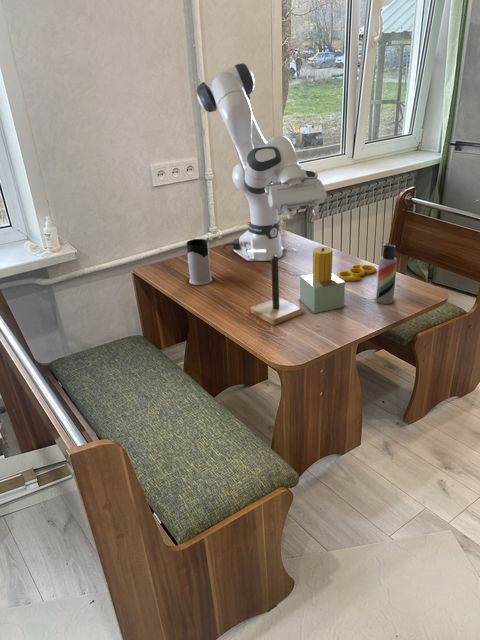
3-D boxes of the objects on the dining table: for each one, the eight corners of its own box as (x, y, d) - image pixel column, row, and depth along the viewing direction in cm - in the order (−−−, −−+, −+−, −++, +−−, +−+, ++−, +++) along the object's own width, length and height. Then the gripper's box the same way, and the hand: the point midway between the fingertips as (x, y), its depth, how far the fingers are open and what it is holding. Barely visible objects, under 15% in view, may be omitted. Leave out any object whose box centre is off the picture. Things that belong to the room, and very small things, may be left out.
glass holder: (185, 283, 199) (180, 245, 192) (201, 269, 211) (198, 232, 203) (206, 286, 196) (202, 247, 189) (221, 271, 208) (218, 234, 200)
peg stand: (250, 312, 176) (247, 255, 166) (278, 302, 183) (276, 246, 172) (273, 325, 168) (271, 265, 158) (301, 313, 174) (301, 255, 164)
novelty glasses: (330, 275, 201) (347, 283, 193) (331, 271, 200) (347, 280, 193) (365, 265, 208) (382, 273, 200) (365, 262, 207) (382, 270, 199)
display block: (300, 300, 183) (300, 276, 178) (328, 294, 186) (329, 270, 182) (314, 313, 174) (314, 288, 170) (343, 306, 178) (345, 282, 173)
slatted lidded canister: (309, 277, 177) (309, 246, 172) (326, 274, 179) (326, 243, 174) (321, 287, 170) (322, 255, 165) (339, 283, 172) (340, 252, 166)
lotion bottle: (372, 299, 182) (377, 243, 171) (386, 295, 183) (391, 240, 173) (382, 305, 177) (387, 248, 167) (396, 302, 179) (402, 245, 169)
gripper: (265, 178, 175) (277, 215, 172) (321, 171, 181) (333, 207, 178) (261, 189, 181) (272, 225, 178) (315, 182, 187) (327, 216, 184)
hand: (303, 216), depth 178 cm, fingers open, 8 cm apart
